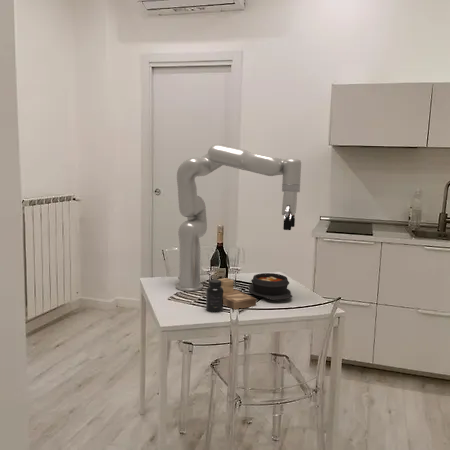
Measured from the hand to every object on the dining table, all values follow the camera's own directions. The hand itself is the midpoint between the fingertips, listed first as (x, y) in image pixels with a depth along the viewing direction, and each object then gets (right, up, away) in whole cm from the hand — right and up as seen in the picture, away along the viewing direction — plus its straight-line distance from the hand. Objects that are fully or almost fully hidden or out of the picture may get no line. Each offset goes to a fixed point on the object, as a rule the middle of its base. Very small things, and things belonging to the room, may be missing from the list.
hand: (289, 228), depth 200 cm
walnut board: (-24, -31, -2) cm, 39 cm away
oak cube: (-27, -27, +3) cm, 39 cm away
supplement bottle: (-32, -33, -13) cm, 47 cm away
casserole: (-7, -30, +9) cm, 33 cm away
